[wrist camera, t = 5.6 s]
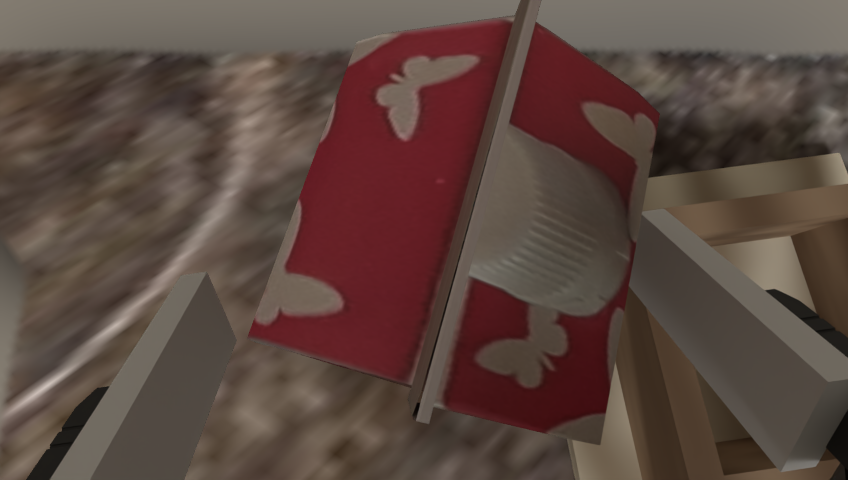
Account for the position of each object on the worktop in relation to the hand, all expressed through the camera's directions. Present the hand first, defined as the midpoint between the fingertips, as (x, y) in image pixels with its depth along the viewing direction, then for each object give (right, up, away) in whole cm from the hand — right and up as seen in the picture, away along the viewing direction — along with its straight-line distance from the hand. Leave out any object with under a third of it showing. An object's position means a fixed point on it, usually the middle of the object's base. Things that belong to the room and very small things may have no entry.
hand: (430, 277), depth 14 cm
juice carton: (+1, -3, +13) cm, 13 cm away
